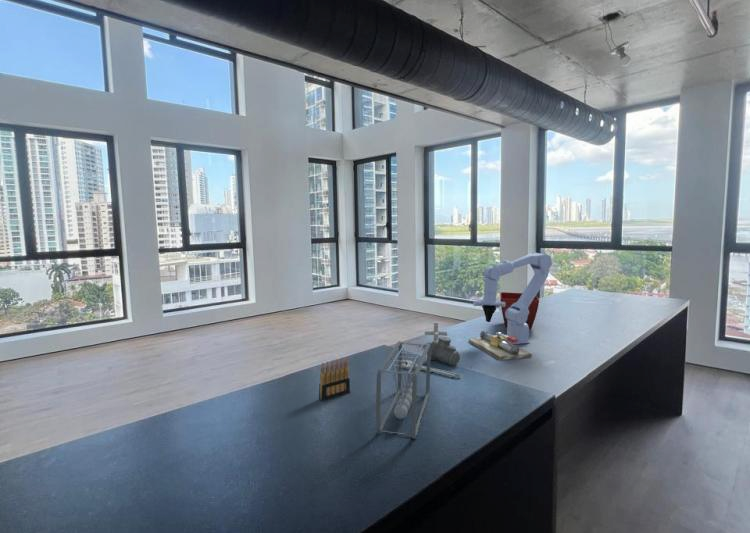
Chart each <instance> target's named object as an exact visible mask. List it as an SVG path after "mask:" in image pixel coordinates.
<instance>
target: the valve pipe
mask: <svg viewBox="0 0 750 533" xmlns="http://www.w3.org/2000/svg"><path fill="white" fill-rule="evenodd" d="M479 338H482V339H486V340H488V341H489V342H491V345H493V346H495V347H497V348H503V349H505V350H506V351H508V352H510V353H511V354H512V355H516V354H518V353H519V348H520V347H519V346H517V345H515V346H512V345H510V344H508V343H507V339H506V338H504V337H502V336H499V335H496V334H495V335H494V334H493V335H492V334H490V333H488V331H486V330H482V331H481V332H480V333H479ZM518 347H519V348H518Z"/></svg>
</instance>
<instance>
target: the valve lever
mask: <svg viewBox="0 0 750 533" xmlns="http://www.w3.org/2000/svg"><path fill="white" fill-rule="evenodd" d="M495 335H499V336H502V337H504V338H506V339H507V340H508V341H510V342H512V343H517V342H518V339H516V338H514V337H509V336H507V334H503V332H500V331H496V332H495Z"/></svg>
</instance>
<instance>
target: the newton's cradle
mask: <svg viewBox="0 0 750 533" xmlns="http://www.w3.org/2000/svg"><path fill="white" fill-rule="evenodd" d="M430 344H431V343H427V344H422V343H411V342H410V343H409V342H402V341H401V340H399V341H397V343H396V344H395V345H394V346H393V349H392V350H391V351H390V352H389V354H388V355H387V357H386V358H385V360H384V361H383V362H382V364H381V365H380V367H379V368H378V369H377V374H376V389H375V390H376V394H375V396H376V397H375V398H376V399H375V400H376V402H375V405H376V408H375V417H376V418H375V431H376V434H378V435H380V434H382V433H385V432H388V433H387V434H392V433H398V434H397V435H399V434H405V435H404V436H406V434H407V433H404V432H403V433H402V432H396V431H395V432H394V431H391V430H390V431H388V430H384V428H385V426H384V425H386V424H387V422H386V421H388V419H389V417H390V415H391V413H392V411H393V414H394V416H395V417H396V418H397V419H399V420H402V419H404V418H406V417H407V415H408V412H409V410H410V408H411V426H410V430H411V431H410V433H411V434H410V435H411V436H410V437H411V439H412V438H415V439H417V437H416V435H417V436H418V433H417V432H419V430H418V428H419V429H420V427H419V425H420V426H421V423H420V420H421V418H422V419H423V417H422V414H423V411H424V412H425V410H424V408H425V409H426V407H425V405H426V406H427V404H428V401H427V399H428V400H429V397H430V391H431V390H430V388H431V385H430V383H431V381H430V380H431V373H430V367H431V359H430V355H431V346H430ZM406 345H412V346H420V348H419V349H416V348H413V350H414V351H415V350H416V351H417V350H418V351H417V353H416V352H415V353H412V354H415V355H416V356H415V357H413V356H411V357H410V356H409V359H410V358H411V359H413V361H412V362H413V363H412V366H411V367H410V369H408V370H406V371H403V370H405V369H404V367H406V368H407V367H408V366H407V365H406V366H403V368H402V363H403V360H405V361H404V362H407V361H406V360H407V359H403V358H406V354H407V351H405V349H406V350H407V348H406V347H405V346H406ZM404 347H405V348H404ZM423 347H425V348H424V350H423V352H422V354H421V357H420V358H419V360H418V357H419V355H420V352H421V351H422V348H423ZM397 350H398V353H397V354H396V356H395V358H394V359H393V361H392V362H391V364H390V365H389V367H388V368H387V369H385V368H386V367H387V365H388V364H389V362H390V361H391V360H392V358H393V356H394V355H395V353H396V352H397ZM403 355H404V356H403ZM425 359H426V367H427V372H426V380H425V381H426V382H425V394H421V393H420V394H419V393H418V392H417V389H418V388H417V387H418V385H417V384H418V377H419V373H420V371H421V370H420V369H421V367H422V366H423V364H424V361H425ZM396 362H397V363H396ZM417 362H418V363H417ZM394 363H395V364H394ZM414 363H417V364H418V365H417V367H416V365H415V364H414ZM413 366H414V367H416V369H413V368H412V367H413ZM395 367H396V368H397V369H396V371H395V369H394V368H395ZM391 368H392V370H390V369H391ZM402 369H403V370H402ZM383 372H384V373H393V376H394V381H395V383H397V384H395V387H396V393H395V395H394V397H393V399H392V401H391V403H390V405H389V407H388V409H387V410H386V413H385V415H384V417H383V419H382V420H381V408H382V407H381V405H382V404H381V399H382V397H381V395H382V394H381V393H382V388H381V387H382V374H383ZM395 374H397V379H396V375H395ZM403 375H404V376H406V375H407V380H406V377H404V379H405V382H406V383H405V386H404V384H402V383H404V381H403V378H402V377H403ZM396 380H397V381H396ZM402 387H403V390H402ZM418 395H422V396H421V397H424V398H423V401H422V405H421V407H420V410H421V411H419V413H420V414H419V413H418V416H419V417H417V396H418ZM398 396H399V397H398ZM426 403H427V404H426ZM395 404H396V406H395ZM423 415H424V414H423ZM417 419H418V420H417ZM421 421H422V420H421ZM416 422H417V423H416ZM385 423H386V424H385ZM389 432H390V433H389Z"/></svg>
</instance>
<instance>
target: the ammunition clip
mask: <svg viewBox="0 0 750 533" xmlns="http://www.w3.org/2000/svg"><path fill="white" fill-rule="evenodd" d="M349 375H350V371H349V361H348V357H346V356H345V359H344V360H343V358H340V361H339V360H338V359H336V360H335V364H334V361H333V360H332V359H331V361H330V362H329V361H326V364H324V362H322V363H321V365H320V376H319V377H320V378H319V379H320V380H319V388H318V399H319V401H321V402H324V401H327V400H331V399H335V398H338V397H341V396H343V395H348V394H350V393H351V387H350V382H351V381H350V376H349Z"/></svg>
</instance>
